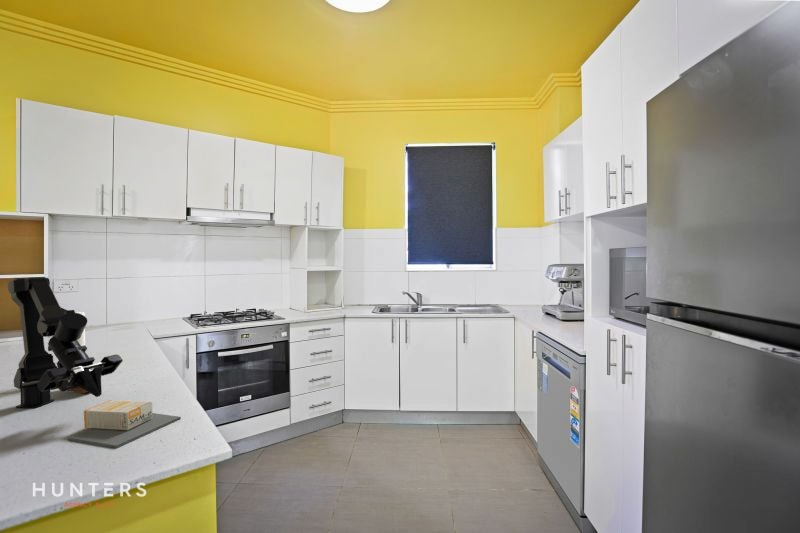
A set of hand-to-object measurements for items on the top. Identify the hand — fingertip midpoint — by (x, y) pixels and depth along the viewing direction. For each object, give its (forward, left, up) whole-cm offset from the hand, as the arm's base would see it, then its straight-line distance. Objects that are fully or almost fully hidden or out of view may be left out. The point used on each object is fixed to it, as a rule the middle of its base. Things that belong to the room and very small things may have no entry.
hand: (99, 395), depth 107 cm
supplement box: (-1, 0, -5) cm, 5 cm away
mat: (+9, -2, -8) cm, 12 cm away
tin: (-30, +28, -8) cm, 42 cm away
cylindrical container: (-43, +40, -8) cm, 59 cm away
